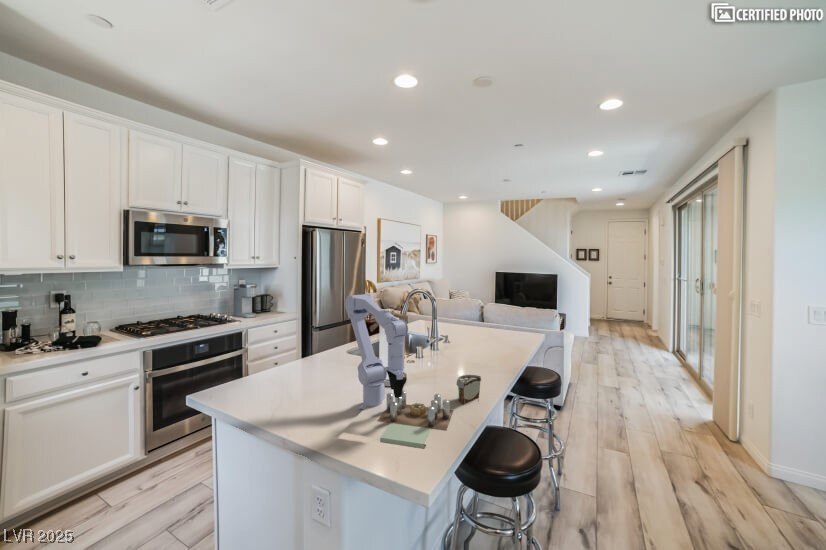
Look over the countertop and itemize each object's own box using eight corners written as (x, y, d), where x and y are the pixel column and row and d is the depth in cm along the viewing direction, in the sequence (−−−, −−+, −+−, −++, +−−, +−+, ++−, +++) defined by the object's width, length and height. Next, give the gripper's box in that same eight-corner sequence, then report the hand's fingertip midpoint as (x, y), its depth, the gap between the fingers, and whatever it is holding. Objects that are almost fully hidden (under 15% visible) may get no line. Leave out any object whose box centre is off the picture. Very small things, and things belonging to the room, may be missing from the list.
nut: (408, 415, 125) (408, 407, 124) (412, 409, 129) (412, 402, 129) (424, 417, 123) (424, 409, 123) (427, 411, 128) (427, 404, 128)
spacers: (391, 404, 133) (391, 389, 133) (451, 412, 127) (451, 395, 127) (378, 420, 120) (378, 403, 120) (445, 429, 114) (445, 411, 114)
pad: (390, 427, 118) (390, 423, 118) (431, 433, 115) (431, 428, 115) (380, 442, 109) (380, 437, 109) (424, 449, 105) (424, 444, 105)
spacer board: (391, 406, 135) (391, 402, 135) (453, 414, 129) (453, 410, 129) (376, 425, 120) (376, 421, 120) (446, 435, 114) (446, 430, 114)
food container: (468, 395, 146) (468, 372, 146) (480, 400, 142) (481, 375, 141) (449, 404, 138) (450, 379, 137) (462, 409, 133) (462, 383, 133)
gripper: (381, 350, 129) (381, 386, 130) (387, 361, 115) (387, 402, 116) (400, 349, 131) (400, 385, 131) (409, 360, 117) (408, 400, 117)
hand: (395, 392), depth 124 cm, fingers open, 7 cm apart
